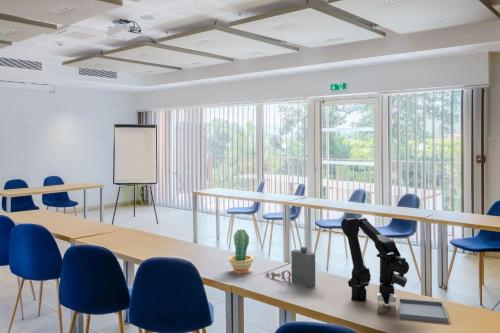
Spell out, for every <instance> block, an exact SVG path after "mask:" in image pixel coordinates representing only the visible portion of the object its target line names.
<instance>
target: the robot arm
mask: <svg viewBox="0 0 500 333" xmlns="http://www.w3.org/2000/svg"><path fill="white" fill-rule="evenodd" d="M340 227H341V229H342V232H343V234H344V235H345V236H346V238H347V241H348V242H347V243H348V246H349V251H350V256H351V261H352V266H353V267H352V271H351V278H350V280H347V284H348V287H349V288H351V298H350V300H351V301H358V302H366V300H367V288H366V287H369V284H370V281H371V277H372V275H371V273H370V268H368V267H366V266H365V264H364V259H363V256H362V254H363V253H362V250H361V245H360V241H359V233H360V232H359V231H360V230H362V232H363V233H364V234H365V235H367V237H369V239H370V240H371V241H372V242H373V243H374V247H375V249H376V250H377V251H378V253H377V254H376V256H375V257H377V258H379V286H378V287H379V290H378V291H379V293H378V294H381V295H382V297H383V299H384V301H383V302H385V304H388V302H389V297H390V295H395V287H394V285H395V284H396V285H399V286H401V287H402V288H405V287H406V285H407V282H408V279H407V278H406V276H405V275H406V274H408V272H409V270H410V264H409V262H408V261H407V260H406V257H402V255H401V253H400V251H399V249H398V248H397V247H398V246H397V245H396V242H395V241H394V240H392V239H391V238H390V237H388V236H385V235H383V234H382V233H381V232H380V231H379V230H378V229H376V227H375V226H374V225H372V223H371V222H369V221H368V218H367V217H357V218H355V217H349V218H348V217H347V218H344V219H342V220H341V223H340ZM389 303H390V302H389Z"/></svg>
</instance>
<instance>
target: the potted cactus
mask: <svg viewBox="0 0 500 333" xmlns="http://www.w3.org/2000/svg"><path fill="white" fill-rule="evenodd" d="M233 242H234V243H233V244H234V248H235V252H234V253H235V254H234V255H231V256H229V257H228V262H229V263H230V266H231V268H232V269H233V272H234V273H236V274H246V273H249V269H250V268H251V266H252V262H254V260H255V259H254V256H253V255H250V254H247V251H248V246H249V244H250V236H249V234H248V233H247V231H246V229H244V228H242V229H241V228H240V229H237V230H236V231H235V233H234V234H233Z"/></svg>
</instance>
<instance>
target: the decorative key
mask: <svg viewBox="0 0 500 333" xmlns="http://www.w3.org/2000/svg"><path fill="white" fill-rule="evenodd" d="M270 272H271V273H269V271H268V272H266V273H265V274H264V275H266V277H270V276H271V279H273V278H275V277H278V278H281V280H283V281H284V282H285V283H286V284H287V283H290V282H292V272H291V271H290V270H289V269H285V270H283V271H281V272H279V273H275V272H274V271H270ZM285 273H287V274H288V276H287V277H285ZM287 279H288V280H287Z"/></svg>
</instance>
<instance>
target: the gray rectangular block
mask: <svg viewBox="0 0 500 333" xmlns="http://www.w3.org/2000/svg"><path fill="white" fill-rule="evenodd" d="M376 297H377V298H376V299H377V300H376V301H377V302H384V299H383V297H382V295H381V293H377V295H376ZM389 303H397V294H390V297H389V302H388V304H385V302H384V307H389Z"/></svg>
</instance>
